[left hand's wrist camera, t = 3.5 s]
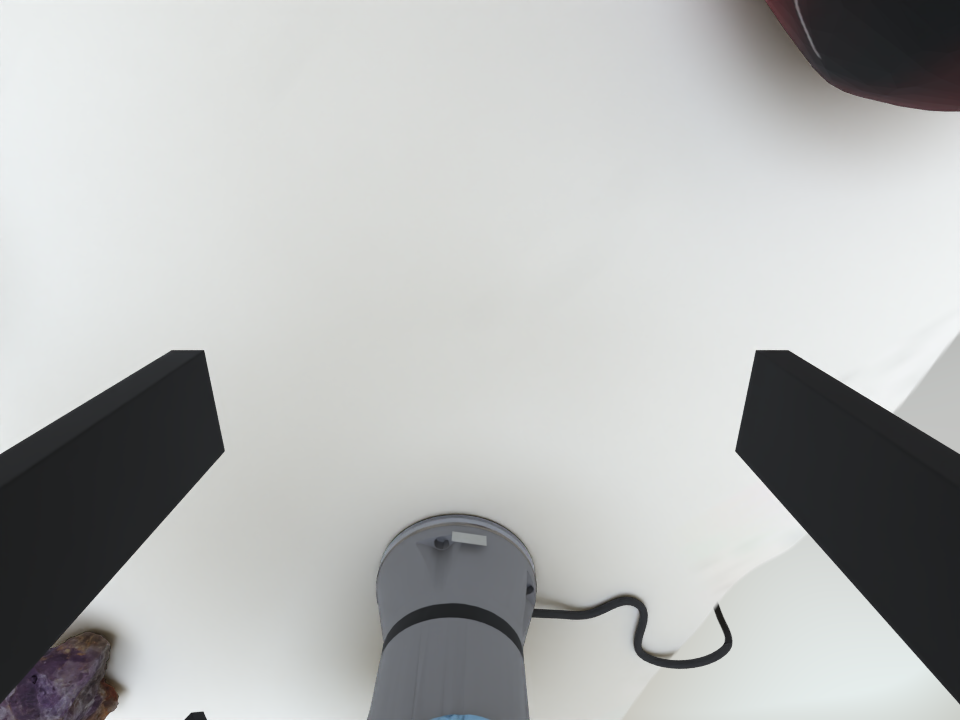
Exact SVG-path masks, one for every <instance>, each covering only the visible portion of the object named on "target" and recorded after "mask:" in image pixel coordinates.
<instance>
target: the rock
mask: <svg viewBox="0 0 960 720" xmlns="http://www.w3.org/2000/svg"><path fill="white" fill-rule="evenodd" d="M110 648H111V646H110V643H109V642H108V640H106V639H105V638H103V636H102V635H98V634H95V633H92V632H84V633H82V634H80V635H77V636H75V637H72V638H69V639H67V640H66V642H65V643H63V644H61V645H59V646H57V647H55V648H51V649H49V650H48V651H47V652H46V653H45V654H44V655H43V657H42V658H41V659H40V660H39V661H38V662H37V663H36V664H35V666H34V667H33V668H32V669H31V670H30V671H29V672H28V673H27V675H26V676H25V677H24V678H23V679H22V680H21V681H20V682H19V684H18V685H17V686H16V687H15V688H14V689H13V690H12V691H11V693H10V694H9V695H8V696H7V697H6V698H5V699H4V700H3V702H2V703H1V704H0V720H105V718H106V716H107V715H108V714H109V713H110V712H112V711H114V710H115V709H116V708H117V705H118V704H119V703H118V697H119V696H118V694H117V692H116V691H115V688H114V687H113V686H111V685H109V684H107V683H105V682H106V679H105V678H103V677H104V675H105V670H106V669H107V664H105V663H106V661H107V660H108V659H109V651H110Z"/></svg>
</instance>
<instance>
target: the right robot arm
mask: <svg viewBox="0 0 960 720" xmlns="http://www.w3.org/2000/svg"><path fill="white" fill-rule="evenodd" d="M536 592H537V584H536V576H535V569H534V564H533V561H532V558H531V556H530V554H529V552H528V550H527V549H526V547H525V546H524V544H523V543H522V542H521V541H520V540H519V539H518V538H517V537H516V536H515V535H514V534H513V533H511V532H510V531H509V530H507V529H505V528H504V527H502V526H500V525H498V524H496V523H494V522H492V521H489V520H486V519H483V518H479V517H475V516H468V515H444V516H437V517H433V518H429V519H426V520H423V521H420V522H418V523H416V524H414V525H412V526H410V527H408V528H407V529H405V530H404V531H403V532H401V533H400V534H399V535H398V536H397V537H396V538H395V539H394V540H393V541H392V542H391V543H390V544H389V546H388V547H387V549H386V551H385V553H384V555H383V557H382V560H381V563H380V567H379V571H378V575H377V582H376V595H377V603H378V606H379V614H380V621H381V628H382V634H383V640H384V644H383V650H382V655H381V659H380V664H379V669H378V674H377V679H376V683H375V688H374V693H373V698H372V703H371V708H370V712H369V715H368V718H367V720H529V710H528V700H527V689H526V678H525V667H524V657H523V646H524V642H525V638H526V635H527V631H528V628H529V624H530V620H531V617H536V618H560V619H573V620H580V619H589V618H593V617H596V616H599V615H601V614H604V613H606V612H608V611H610V610H612V609H614V608H617V607H619V606H623V605H631V606H634V607H636V608H637V609H638V610H639V611H640V619H639V624H638V627H637V630H636V634H635V638H634V648H635V651H636V653H637V655H638V656H639V657H640V658H642V659H643V660H644V661H647V662H649V663H651V664H654V665H657V666H661V667H666V668H675V669H687V668H695V667H700V666H704V665H708V664H710V663H713V662H715V661H717V660H719V659H721V658H722V657H723V656H725V655H726V654H727V653H728V652H729V651H730V649H731V647H732V641H733V640H732V635H731V632H730V629H729V627H728V625H727V623H726V621H725V619H724V617H723V614H722V612H721V609H720V606H719V604H717V605H716V606H715V607H714V612H715V614H716V617H717V620H718V622H719V624H720V626H721V628H722V631H723V633H724V636H725V642H724V644H723V646H722V647H721V648H720V649H718V650H717V651H715V652H713V653H712V654H709V655H707V656H704V657H701V658H696V659H691V660H667V659H661V658H657V657H654V656H652V655H649V654H647V653H646V652H644V651H643V649H642V647H641V643H642V638H643V635H644V631H645V628H646V624H647V618H648V614H647V609H646V607H645V606H644V604H643V603H642V602H640V601H639V600H637V599H635V598H632V597H621V598H617V599H614V600H612V601H609V602H607V603H605V604H603V605H601V606H599V607H596V608H594V609H591V610H586V611H565V610H547V609H534V606H535V601H536ZM185 720H207V719H206V717H205V714H204V712H194V713H191V714H190V715H189V716H188V717H187V718H186V719H185Z"/></svg>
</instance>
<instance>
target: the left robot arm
mask: <svg viewBox="0 0 960 720" xmlns="http://www.w3.org/2000/svg"><path fill="white" fill-rule="evenodd" d="M224 451H225V450H224V445H223V440H222V435H221V430H220V425H219V421H218V416H217V411H216V406H215V401H214V396H213V391H212V387H211V382H210V377H209V372H208V367H207V362H206V357H205V353H204V350H171V351H170V352H168V353H167V354H165V355H163V356H162V357H160V358H158V359H157V360H155V361H153V362H152V363H150V364H148V365H147V366H145V367H143V368H142V369H140V370H138V371H137V372H135V373H134V374H132V375H130V376H129V377H127V378H125V379H124V380H122V381H120V382H119V383H117V384H115V385H114V386H112V387H110V388H109V389H107V390H105V391H104V392H102V393H101V394H99V395H97V396H96V397H94V398H92V399H91V400H89V401H87V402H86V403H84V404H82V405H81V406H79V407H77V408H76V409H74V410H72V411H71V412H69V413H68V414H66V415H64V416H63V417H61V418H59V419H58V420H56V421H54V422H53V423H51V424H49V425H48V426H46V427H44V428H43V429H41V430H39V431H38V432H36V433H35V434H33V435H31V436H30V437H28V438H26V439H25V440H23V441H21V442H20V443H18V444H16V445H15V446H13V447H11V448H10V449H8V450H6V451H5V452H3V453H2V454H0V704H1V703H2V702H3V700H4V699H5V698H6V697H7V696H8V695H9V694H10V693H11V691H12V690H13V689H14V688H15V687H16V686H17V685H18V684H19V682H20V681H21V680H22V679H23V678H24V677H25V676H26V675H27V673H28V672H29V671H30V670H31V669H32V668H33V667H34V666H35V664H36V663H37V662H38V661H39V660H40V659H41V658H42V657H43V655H44V654H45V653H46V652H47V651H48V650H49V649H50V648H51V646H52V645H53V644H54V643H55V642H56V641H57V640H58V638H59V637H60V636H61V635H62V634H63V633H64V632H65V631H66V629H67V628H68V627H69V626H70V625H71V624H72V623H73V622H74V620H75V619H76V618H77V617H78V616H79V615H80V614H81V613H82V611H83V610H84V609H85V608H86V607H87V606H88V605H89V604H90V602H91V601H92V600H93V599H94V598H95V597H96V596H97V595H98V593H99V592H100V591H101V590H102V589H103V588H104V587H105V586H106V584H107V583H108V582H109V581H110V580H111V579H112V578H113V577H114V575H115V574H116V573H117V572H118V571H119V570H120V569H121V567H122V566H123V565H124V564H125V563H126V562H127V561H128V560H129V558H130V557H131V556H132V555H133V554H134V553H135V552H136V551H137V549H138V548H139V547H140V546H141V545H142V544H143V543H144V542H145V540H146V539H147V538H148V537H149V536H150V535H151V534H152V533H153V531H154V530H155V529H156V528H157V527H158V526H159V525H160V524H161V522H162V521H163V520H164V519H165V518H166V517H167V516H168V515H169V513H170V512H171V511H172V510H173V509H174V508H175V507H176V506H177V504H178V503H179V502H180V501H181V500H182V499H183V498H184V497H185V495H186V494H187V493H188V492H189V491H190V490H191V489H192V487H193V486H194V485H195V484H196V483H197V482H198V481H199V480H200V478H201V477H202V476H203V475H204V474H205V473H206V472H207V471H208V469H209V468H210V467H211V466H212V465H213V464H214V463H215V462H216V460H217V459H218V458H219V457H220V456H221V455H222V454H223V453H224ZM735 451H736V453H737V454H738V455H739V456H740V457H741V458H742V459H743V460H744V462H745V463H746V464H747V465H748V466H749V467H750V468H751V469H752V471H753V472H754V473H755V474H756V475H757V476H758V477H759V478H760V480H761V481H762V482H763V483H764V484H765V485H766V486H767V487H768V489H769V490H770V491H771V492H772V493H773V494H774V495H775V497H776V498H777V499H778V500H779V501H780V502H781V503H782V504H783V506H784V507H785V508H786V509H787V510H788V511H789V512H790V513H791V515H792V516H793V517H794V518H795V519H796V520H797V521H798V522H799V524H800V525H801V526H802V527H803V528H804V529H805V530H806V531H807V533H808V534H809V535H810V536H811V537H812V538H813V539H814V540H815V542H816V543H817V544H818V545H819V546H820V547H821V548H822V549H823V551H824V552H825V553H826V554H827V555H828V556H829V557H830V558H831V560H832V561H833V562H834V563H835V564H836V565H837V566H838V568H839V569H840V570H841V571H842V572H843V573H844V574H845V575H846V576H847V578H848V579H849V580H850V581H851V582H852V583H853V584H854V586H855V587H856V588H857V589H858V590H859V591H860V592H861V593H862V595H863V596H864V597H865V598H866V599H867V600H868V601H869V602H870V604H871V605H872V606H873V607H874V608H875V609H876V610H877V611H878V613H879V614H880V615H881V616H882V617H883V618H884V619H885V620H886V622H887V623H888V624H889V625H890V626H891V627H892V628H893V629H894V631H895V632H896V633H897V634H898V635H899V636H900V637H901V638H902V640H903V641H904V642H905V643H906V644H907V645H908V646H909V647H910V649H911V650H912V651H913V652H914V653H915V654H916V655H917V657H918V658H919V659H920V660H921V661H922V662H923V663H924V664H925V666H926V667H927V668H928V669H929V670H930V671H931V672H932V673H933V675H934V676H935V677H936V678H937V679H938V680H939V681H940V682H941V684H942V685H943V686H944V687H945V688H946V689H947V690H948V691H949V693H950V694H951V695H952V696H953V697H954V698H955V699H956V700H957V702H958V703H959V704H960V454H958V453H957V452H955V451H954V450H952V449H950V448H949V447H947V446H945V445H944V444H942V443H940V442H939V441H937V440H935V439H934V438H932V437H930V436H929V435H927V434H925V433H924V432H922V431H920V430H919V429H917V428H916V427H914V426H912V425H911V424H909V423H907V422H906V421H904V420H902V419H901V418H899V417H897V416H896V415H894V414H892V413H891V412H889V411H888V410H886V409H884V408H883V407H881V406H879V405H878V404H876V403H874V402H873V401H871V400H869V399H868V398H866V397H864V396H863V395H861V394H859V393H858V392H856V391H855V390H853V389H851V388H850V387H848V386H846V385H845V384H843V383H841V382H840V381H838V380H836V379H835V378H833V377H831V376H830V375H828V374H826V373H825V372H823V371H822V370H820V369H818V368H817V367H815V366H813V365H812V364H810V363H808V362H807V361H805V360H803V359H802V358H800V357H798V356H797V355H795V354H793V353H792V352H790V351H789V350H756V353H755V357H754V362H753V367H752V372H751V377H750V382H749V387H748V391H747V396H746V401H745V406H744V411H743V416H742V421H741V425H740V430H739V435H738V440H737V445H736V450H735Z"/></svg>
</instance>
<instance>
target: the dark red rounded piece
mask: <svg viewBox="0 0 960 720" xmlns="http://www.w3.org/2000/svg"><path fill="white" fill-rule="evenodd" d="M765 1H766V3H767V4H768V6H769V7H770V9H771V10H772V11H773V13H774V14H775V16H776V17H777V19H778V20H779V22H780V23H781V25H782V26H783V28H784V29H785V31H786V32H787V33H788V35H789V36H790V37H791V39H792V40H793V41H794V43H795V44H796V45H797V47H798V48H799V49H800V51H801V52H802V53H803V55H804V56H805V58H806V59H807V60H808V62H809V63H810V64H811V66H812V67H813V68H814V69H815V70H816V71H817V72H818V73H819V74H820V75H821V76H822V77H823V78H824V79H825V80H826V81H827V82H828V83H829V84H831V85H833V86H835V87H837V88H839V89H840V90H842V91H844V92H847V93H850V94H853V95H856V96H859V97H863V98H868V99H872V100H876V101H880V102H884V103H889V104H893V105H897V106H902V107H909V108H915V109H922V110H929V111H960V0H765Z"/></svg>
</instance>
